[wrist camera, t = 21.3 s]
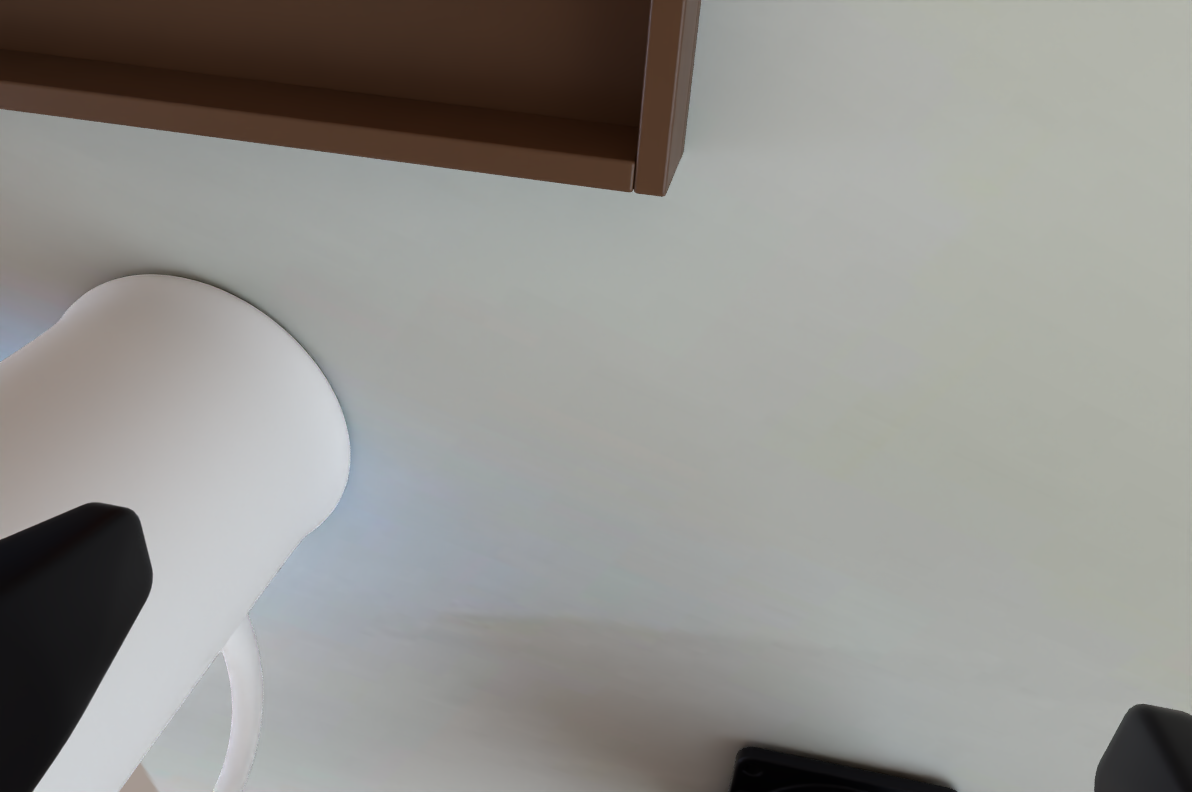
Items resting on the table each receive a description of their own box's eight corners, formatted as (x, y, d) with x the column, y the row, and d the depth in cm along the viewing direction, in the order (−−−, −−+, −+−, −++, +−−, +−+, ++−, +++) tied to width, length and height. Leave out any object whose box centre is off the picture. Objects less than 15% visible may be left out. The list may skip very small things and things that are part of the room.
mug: (443, 610, 28) (227, 1062, 18) (208, 631, 30) (-95, 1033, 20) (264, 240, 22) (-191, 584, 12) (-1, 305, 25) (-553, 630, 15)
